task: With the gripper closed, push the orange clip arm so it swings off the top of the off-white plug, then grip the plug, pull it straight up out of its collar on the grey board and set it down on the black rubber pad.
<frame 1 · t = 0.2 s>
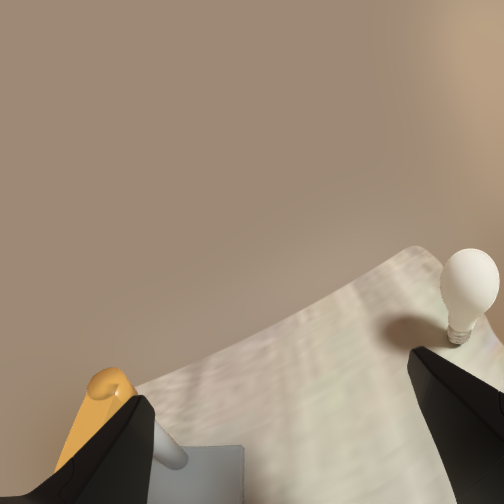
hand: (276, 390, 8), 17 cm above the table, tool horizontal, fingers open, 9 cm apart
light bulb: (456, 341, 25), on the table
clip arm: (80, 483, 9), point 11 cm above the table, hinge at 0.0°
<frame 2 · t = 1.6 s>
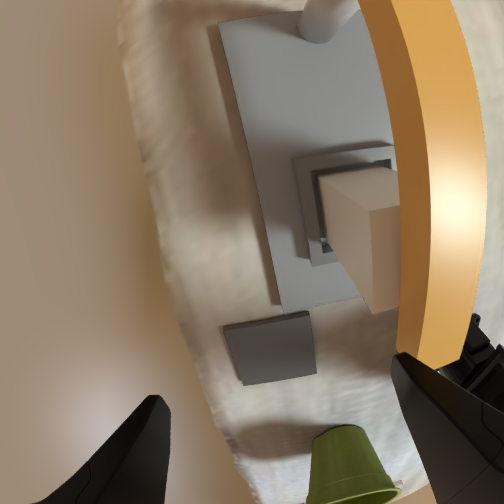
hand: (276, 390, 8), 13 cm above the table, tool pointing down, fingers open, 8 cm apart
plug: (351, 201, 18), point 1 cm above the table, touching socket board
plant pot: (337, 436, 31), on the table
clip arm: (438, 133, 7), point 12 cm above the table, hinge at 0.0°
socket board: (341, 156, 18), on the table
rubber pad: (273, 350, 24), on the table
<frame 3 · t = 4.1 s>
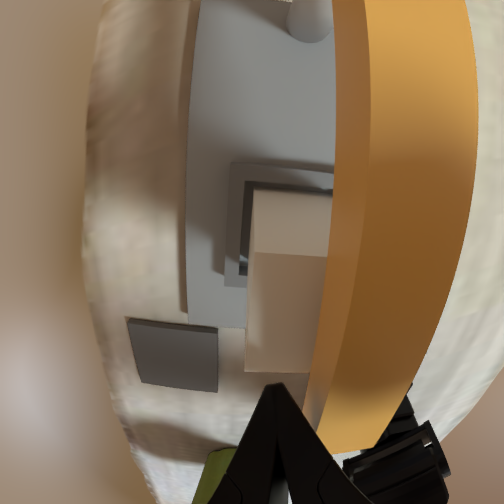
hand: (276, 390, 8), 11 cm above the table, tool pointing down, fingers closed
plug: (289, 227, 17), point 1 cm above the table, touching socket board
plant pot: (234, 456, 30), on the table
clip arm: (402, 174, 5), point 12 cm above the table, hinge at 4.6°, touching gripper
socket board: (292, 173, 16), on the table
rubber pad: (175, 356, 22), on the table
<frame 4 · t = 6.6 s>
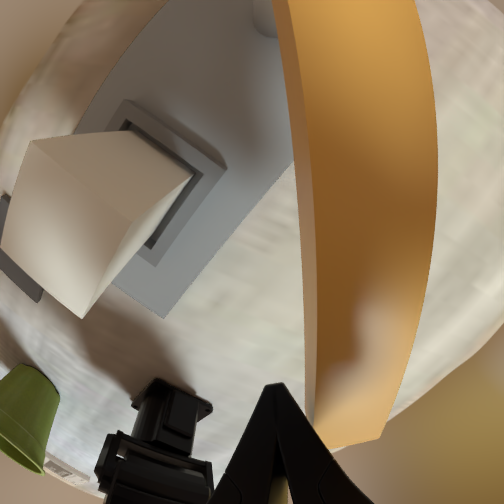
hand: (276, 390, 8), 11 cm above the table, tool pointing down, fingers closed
book: (43, 452, 40), on the table
plug: (144, 181, 16), point 1 cm above the table, touching socket board
plant pot: (38, 381, 26), on the table
clip arm: (360, 155, 5), point 11 cm above the table, hinge at 45.7°, touching gripper
socket board: (177, 138, 16), on the table
rubber pad: (20, 249, 18), on the table
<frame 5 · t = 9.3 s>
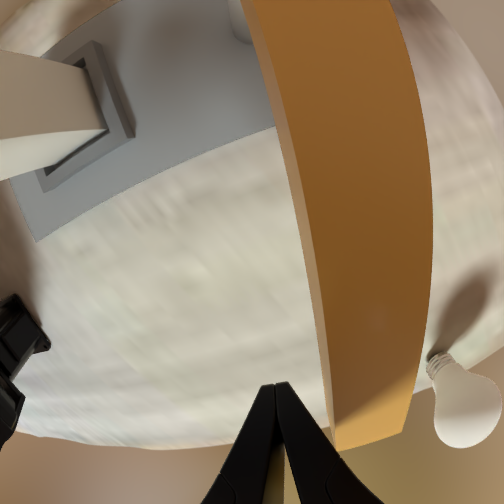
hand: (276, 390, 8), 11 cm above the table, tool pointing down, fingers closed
light bulb: (433, 356, 23), on the table
plug: (71, 117, 14), point 1 cm above the table, touching socket board
clip arm: (351, 165, 5), point 11 cm above the table, hinge at 83.0°
socket board: (116, 93, 14), on the table
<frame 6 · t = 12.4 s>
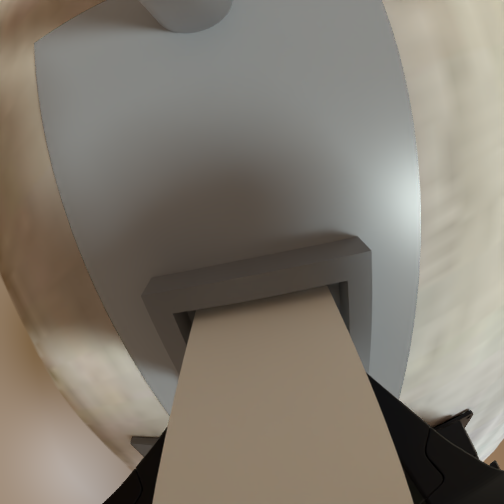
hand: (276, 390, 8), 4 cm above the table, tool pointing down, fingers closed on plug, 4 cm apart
plug: (271, 340, 11), point 1 cm above the table, touching gripper, socket board
socket board: (254, 258, 10), on the table
rubber pad: (195, 460, 17), on the table
when the fingers open (4 cm above the table, at t = 17.4 s): plug drops 1 cm, resting on rubber pad.
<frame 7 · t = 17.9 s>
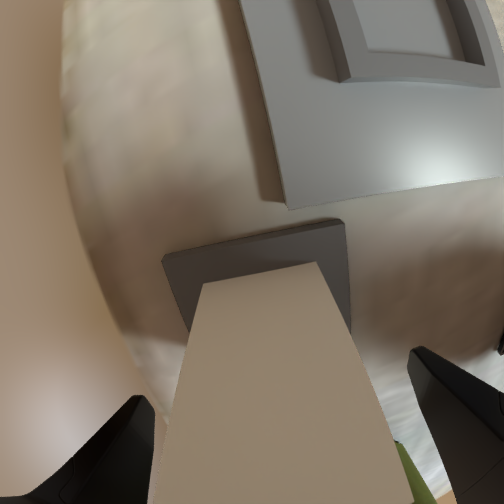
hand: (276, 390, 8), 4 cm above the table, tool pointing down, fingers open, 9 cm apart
plug: (269, 318, 12), point 1 cm above the table, touching rubber pad
plant pot: (363, 456, 20), on the table
rubber pad: (267, 311, 12), on the table
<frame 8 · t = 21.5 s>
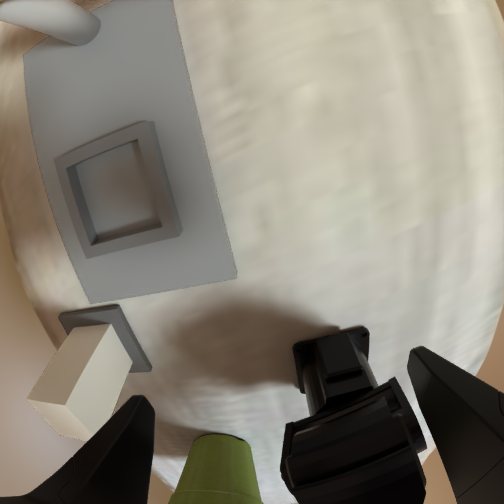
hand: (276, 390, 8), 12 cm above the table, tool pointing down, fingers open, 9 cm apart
plug: (102, 345, 22), point 1 cm above the table, touching rubber pad
plant pot: (220, 444, 30), on the table
socket board: (112, 146, 16), on the table
rubber pad: (104, 341, 23), on the table
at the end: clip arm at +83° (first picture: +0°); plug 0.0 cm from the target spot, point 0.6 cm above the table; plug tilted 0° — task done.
